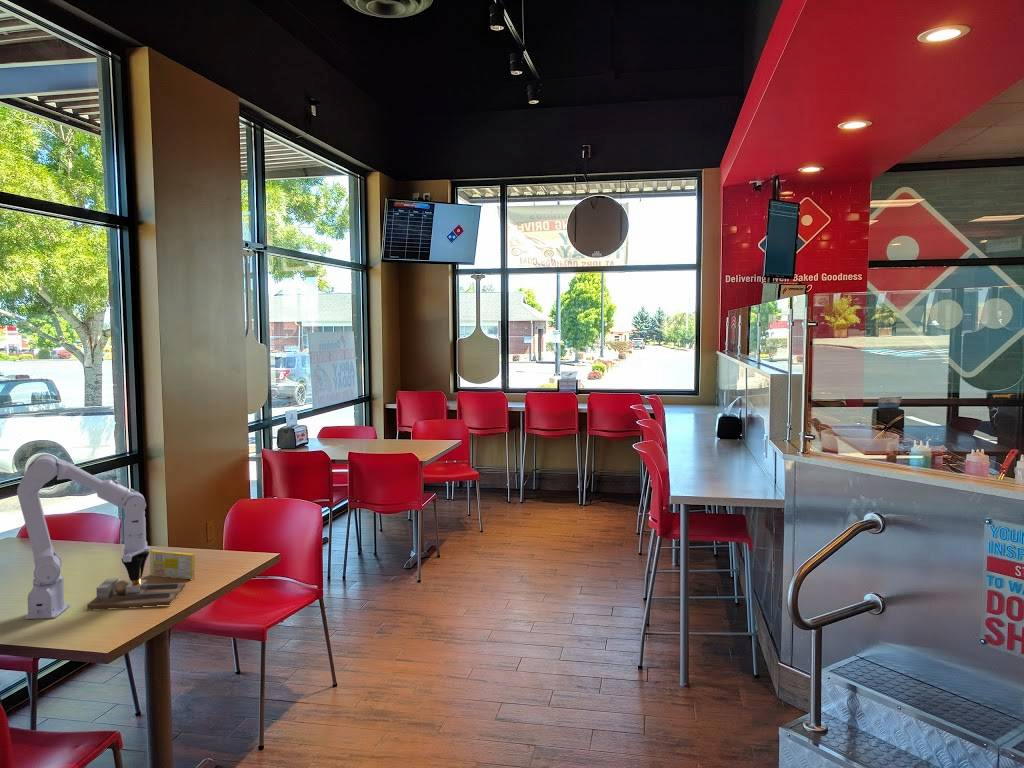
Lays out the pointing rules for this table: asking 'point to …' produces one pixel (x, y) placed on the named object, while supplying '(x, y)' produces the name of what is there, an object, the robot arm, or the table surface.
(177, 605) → the table surface
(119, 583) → the tan oval solid
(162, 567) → the candy box
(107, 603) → the press bench
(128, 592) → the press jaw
